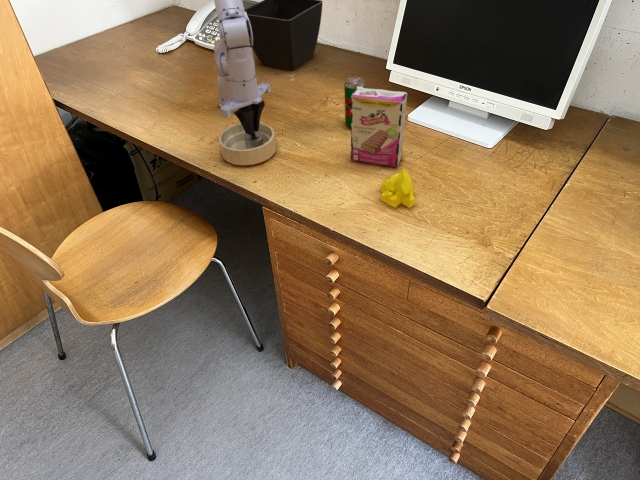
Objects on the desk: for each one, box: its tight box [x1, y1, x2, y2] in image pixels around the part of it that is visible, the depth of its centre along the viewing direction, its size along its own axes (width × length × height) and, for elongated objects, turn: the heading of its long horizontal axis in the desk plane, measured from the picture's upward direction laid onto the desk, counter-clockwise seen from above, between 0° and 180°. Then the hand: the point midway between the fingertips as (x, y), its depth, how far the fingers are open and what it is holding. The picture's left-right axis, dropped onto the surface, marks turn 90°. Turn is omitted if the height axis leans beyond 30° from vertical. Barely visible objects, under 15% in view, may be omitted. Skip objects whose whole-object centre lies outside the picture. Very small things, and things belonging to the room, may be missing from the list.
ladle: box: [244, 104, 264, 149], centre depth 111 cm, size 4×4×11 cm
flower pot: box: [244, 0, 323, 71], centre depth 149 cm, size 19×19×17 cm
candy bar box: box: [350, 86, 408, 168], centre depth 105 cm, size 11×5×16 cm, turn 71°
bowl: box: [218, 122, 277, 166], centre depth 114 cm, size 13×13×4 cm
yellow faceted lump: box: [380, 168, 416, 209], centre depth 97 cm, size 6×8×8 cm
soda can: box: [343, 76, 366, 129], centre depth 119 cm, size 5×5×12 cm
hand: (252, 132), depth 112 cm, fingers closed on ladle
